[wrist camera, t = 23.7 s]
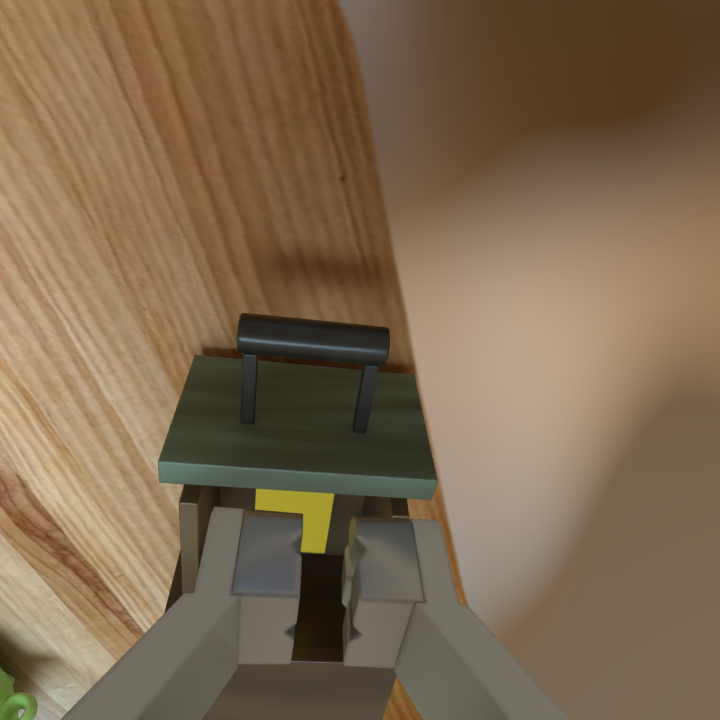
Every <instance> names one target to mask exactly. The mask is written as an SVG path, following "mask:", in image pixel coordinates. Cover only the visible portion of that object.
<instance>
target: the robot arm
mask: <svg viewBox="0 0 720 720" xmlns="http://www.w3.org/2000/svg"><path fill="white" fill-rule="evenodd" d="M302 536H303V514H301V513H290V512H278V511H266V510H254V509H238V508H225V507H214V509H213V511H212V513H211V516H210V521H209V526H208V530H207V535H206V540H205V544H204V549H203V554H202V558H201V563H200V568H199V572H198V577H197V581H196V586H195V591H194V593H184V594H183V595H182V596H181V597H180V598H179V599H178V600H177V601H176V602H175V603H174V604H173V605H172V606H171V607H170V608H169V609H168V611H167V612H166V613H165V614H164V615H163V616H162V617H161V618H160V619H159V620H158V621H157V622H156V623H155V624H154V625H153V626H152V627H151V628H150V629H149V630H148V631H147V632H146V633H145V634H144V635H143V636H142V637H141V638H140V639H139V640H138V641H137V642H136V643H135V644H134V645H133V646H132V647H131V648H130V649H129V650H128V651H127V652H126V653H125V654H124V655H123V656H122V657H121V658H120V659H119V660H118V661H117V662H116V663H115V665H114V666H113V667H112V668H111V669H110V670H109V671H108V672H107V673H106V674H105V675H104V676H103V677H102V678H101V679H100V680H99V681H98V682H97V683H96V684H95V685H94V686H93V687H92V688H91V689H90V690H89V691H88V692H87V693H86V694H85V695H84V696H83V697H82V698H81V699H80V700H79V701H78V702H77V703H76V704H75V705H74V706H73V707H72V708H71V709H70V710H69V711H68V712H67V713H66V714H65V715H64V716H63V717H62V719H61V720H202V719H203V717H204V716H205V714H206V713H207V711H208V710H209V708H210V707H211V706H212V704H213V703H214V701H215V700H216V698H217V697H218V696H219V694H220V693H221V691H222V690H223V688H224V687H225V685H226V684H227V683H228V681H229V680H230V678H231V677H232V675H233V674H234V673H235V671H236V670H237V668H238V664H291V657H292V651H293V644H294V632H295V624H296V623H297V616H298V608H299V599H300V585H301V566H302V557H301V555H300V553H301V545H302ZM342 604H343V605H344V606H345V607H346V612H345V617H344V622H343V627H342V630H343V658H344V666H357V667H375V668H393V669H394V672H395V674H396V676H397V677H398V679H399V681H400V682H401V684H402V686H403V687H404V689H405V691H406V692H407V694H408V695H409V697H410V699H411V700H412V702H413V704H414V705H415V707H416V709H417V710H418V712H419V714H420V715H421V717H422V718H423V720H569V719H568V718H567V717H566V716H565V714H564V713H563V712H562V711H561V710H560V709H559V708H558V707H557V705H556V704H555V703H554V702H553V701H552V700H551V699H550V698H549V696H548V695H547V694H546V693H545V692H544V691H543V690H542V689H541V688H540V686H539V685H538V684H537V683H536V682H535V681H534V680H533V678H532V677H531V676H530V675H529V674H528V673H527V672H526V671H525V669H524V668H523V667H522V666H521V665H520V664H519V663H518V662H517V660H515V658H514V657H513V656H512V655H511V654H510V653H509V652H508V650H507V649H506V648H505V647H504V646H503V645H502V644H501V643H500V641H499V640H498V639H497V638H496V637H495V636H494V635H493V634H492V632H491V631H490V630H489V629H488V628H487V627H486V626H485V625H484V623H483V622H482V621H481V620H480V619H479V618H478V617H477V616H476V614H475V613H474V612H473V611H472V610H471V609H470V608H469V607H468V605H460V604H458V600H457V595H456V590H455V586H454V581H453V577H452V572H451V568H450V563H449V558H448V554H447V549H446V545H445V540H444V535H443V531H442V526H441V524H440V523H439V521H438V520H422V519H408V518H391V517H370V516H353V517H352V519H351V522H350V527H349V545H348V546H347V547H345V553H344V559H343V569H342Z"/></svg>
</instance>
